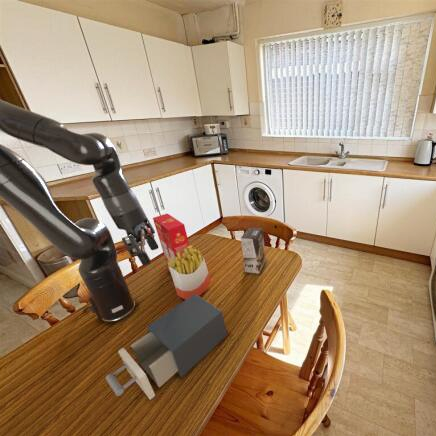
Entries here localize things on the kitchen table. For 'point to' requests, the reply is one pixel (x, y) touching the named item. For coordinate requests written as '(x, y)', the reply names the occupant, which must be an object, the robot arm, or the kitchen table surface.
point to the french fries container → (189, 273)
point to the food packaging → (171, 236)
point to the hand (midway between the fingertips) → (151, 256)
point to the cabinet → (190, 331)
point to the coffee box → (253, 250)
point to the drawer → (145, 365)
